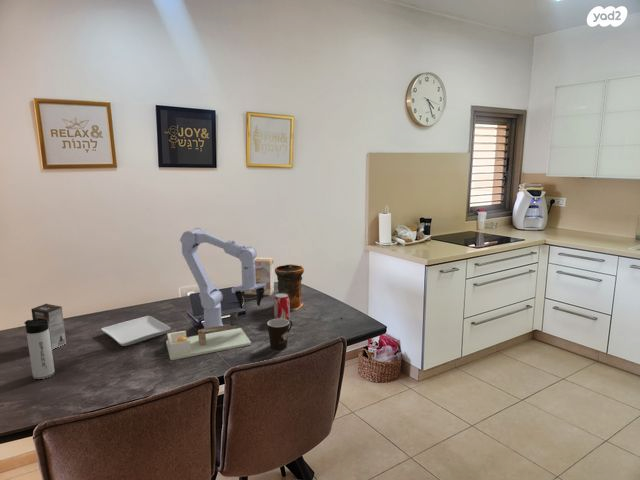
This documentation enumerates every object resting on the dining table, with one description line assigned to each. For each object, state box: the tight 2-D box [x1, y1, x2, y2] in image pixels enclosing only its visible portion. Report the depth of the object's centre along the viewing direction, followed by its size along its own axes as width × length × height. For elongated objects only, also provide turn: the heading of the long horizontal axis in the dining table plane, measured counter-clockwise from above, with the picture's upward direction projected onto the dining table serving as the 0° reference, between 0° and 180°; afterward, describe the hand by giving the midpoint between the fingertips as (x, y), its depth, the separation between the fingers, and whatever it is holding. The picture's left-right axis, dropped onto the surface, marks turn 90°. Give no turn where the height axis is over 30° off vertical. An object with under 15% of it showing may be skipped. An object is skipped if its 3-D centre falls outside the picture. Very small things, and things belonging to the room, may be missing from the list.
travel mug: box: [24, 318, 55, 380], centre depth 140 cm, size 6×7×20 cm
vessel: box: [274, 263, 305, 311], centre depth 207 cm, size 14×14×20 cm
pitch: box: [165, 327, 252, 361], centre depth 166 cm, size 16×30×1 cm, turn 115°
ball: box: [176, 336, 187, 343], centre depth 162 cm, size 4×4×4 cm
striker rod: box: [197, 312, 239, 345], centre depth 167 cm, size 5×16×10 cm, turn 115°
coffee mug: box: [266, 318, 293, 351], centre depth 164 cm, size 12×9×10 cm
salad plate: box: [100, 315, 172, 347], centre depth 175 cm, size 21×21×3 cm
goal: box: [166, 330, 190, 355], centre depth 161 cm, size 11×7×4 cm, turn 25°
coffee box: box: [31, 303, 67, 351], centre depth 163 cm, size 9×6×16 cm
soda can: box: [273, 293, 291, 321], centre depth 190 cm, size 7×7×12 cm
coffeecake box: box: [244, 256, 275, 296], centre depth 227 cm, size 15×7×20 cm, turn 80°
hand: (249, 306), depth 179 cm, fingers open, 7 cm apart
